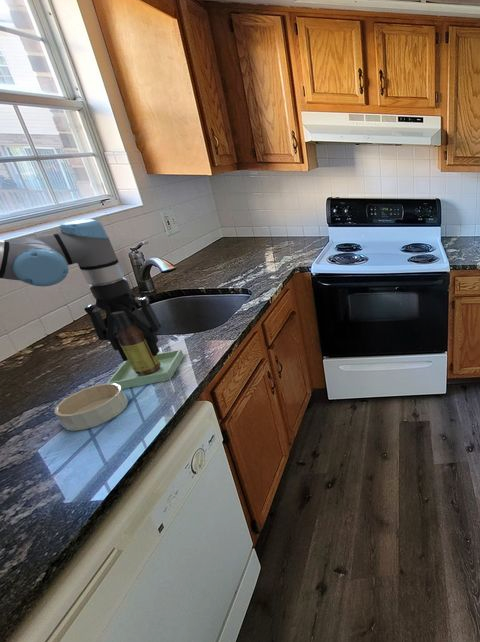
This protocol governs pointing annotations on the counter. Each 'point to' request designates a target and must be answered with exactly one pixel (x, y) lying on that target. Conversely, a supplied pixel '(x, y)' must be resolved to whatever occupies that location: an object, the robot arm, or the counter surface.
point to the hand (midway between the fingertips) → (141, 355)
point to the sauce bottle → (135, 344)
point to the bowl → (91, 406)
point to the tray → (167, 368)
